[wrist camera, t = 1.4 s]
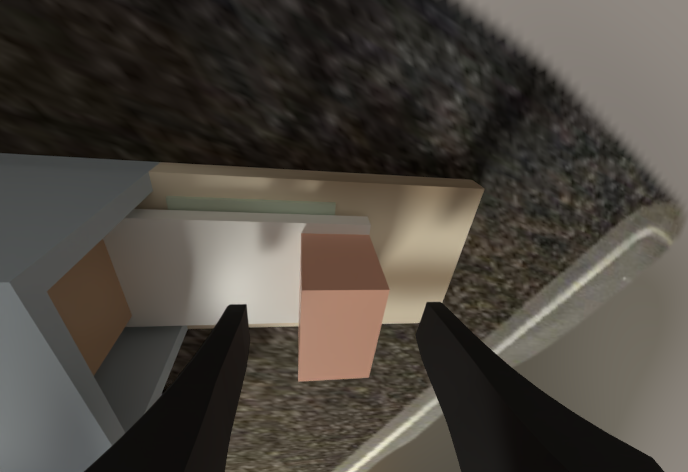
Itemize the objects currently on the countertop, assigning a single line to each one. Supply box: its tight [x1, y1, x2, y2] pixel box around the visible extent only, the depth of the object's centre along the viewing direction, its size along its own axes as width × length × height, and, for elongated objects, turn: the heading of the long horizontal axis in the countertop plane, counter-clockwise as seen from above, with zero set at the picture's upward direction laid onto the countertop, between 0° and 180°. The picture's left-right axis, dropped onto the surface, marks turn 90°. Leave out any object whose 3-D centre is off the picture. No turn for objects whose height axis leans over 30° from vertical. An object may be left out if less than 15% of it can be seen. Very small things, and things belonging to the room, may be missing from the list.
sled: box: [47, 209, 390, 382], centre depth 12 cm, size 6×17×5 cm, turn 84°
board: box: [0, 161, 484, 329], centre depth 15 cm, size 9×27×1 cm, turn 84°
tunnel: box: [0, 153, 188, 472], centre depth 11 cm, size 9×8×8 cm
